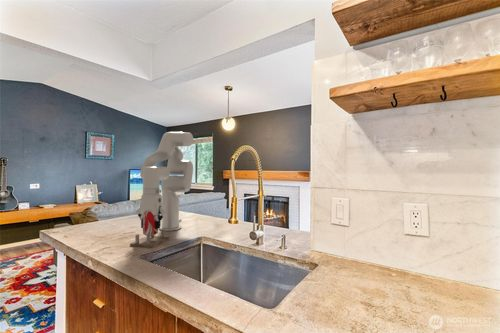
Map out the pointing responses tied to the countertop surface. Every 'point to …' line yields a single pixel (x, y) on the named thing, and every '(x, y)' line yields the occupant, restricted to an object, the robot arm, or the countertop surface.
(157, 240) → the pin tray
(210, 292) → the countertop surface
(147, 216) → the soda can
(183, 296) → the countertop surface
